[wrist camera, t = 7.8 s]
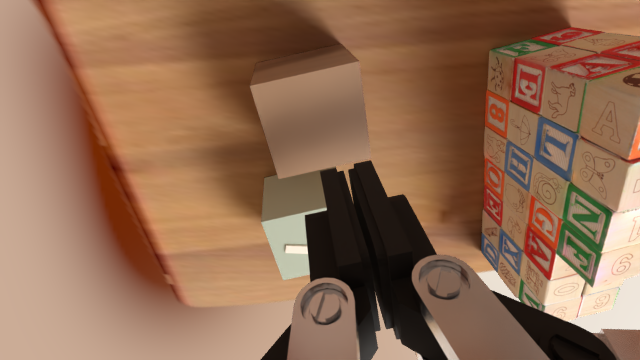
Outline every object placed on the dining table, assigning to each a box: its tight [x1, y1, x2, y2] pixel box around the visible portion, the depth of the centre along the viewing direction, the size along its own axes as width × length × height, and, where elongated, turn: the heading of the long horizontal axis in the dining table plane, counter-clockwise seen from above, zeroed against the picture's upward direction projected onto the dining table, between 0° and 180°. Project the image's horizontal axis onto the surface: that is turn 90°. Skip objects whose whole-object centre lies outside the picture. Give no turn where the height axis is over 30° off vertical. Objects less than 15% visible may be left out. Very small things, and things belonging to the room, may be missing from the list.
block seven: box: [261, 166, 337, 280], centre depth 26 cm, size 6×6×6 cm
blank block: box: [250, 44, 371, 179], centre depth 21 cm, size 6×6×6 cm
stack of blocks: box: [481, 27, 640, 321], centre depth 24 cm, size 21×6×12 cm, turn 14°
